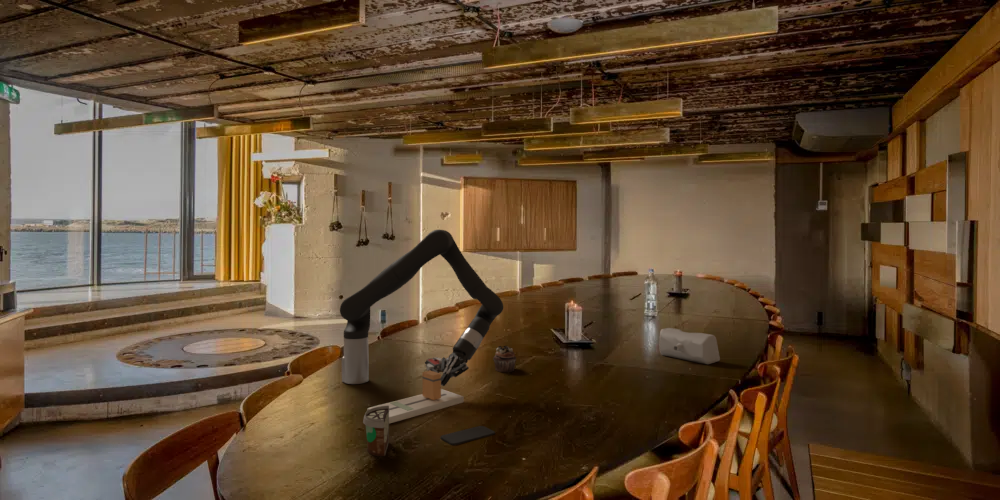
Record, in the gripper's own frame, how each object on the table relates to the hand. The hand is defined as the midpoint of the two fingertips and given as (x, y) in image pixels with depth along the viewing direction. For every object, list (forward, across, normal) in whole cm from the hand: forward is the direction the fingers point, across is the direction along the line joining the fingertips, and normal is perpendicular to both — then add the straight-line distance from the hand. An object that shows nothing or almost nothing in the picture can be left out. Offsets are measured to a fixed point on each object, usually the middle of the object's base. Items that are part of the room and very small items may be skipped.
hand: (441, 384), depth 189 cm
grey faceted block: (-78, +29, +87) cm, 121 cm away
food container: (+31, +20, -23) cm, 43 cm away
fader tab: (+5, 0, -1) cm, 5 cm away
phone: (+14, +30, -5) cm, 34 cm away
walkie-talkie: (-14, -35, +23) cm, 44 cm away
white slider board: (+11, 0, -3) cm, 12 cm away
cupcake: (-28, -14, +36) cm, 48 cm away
